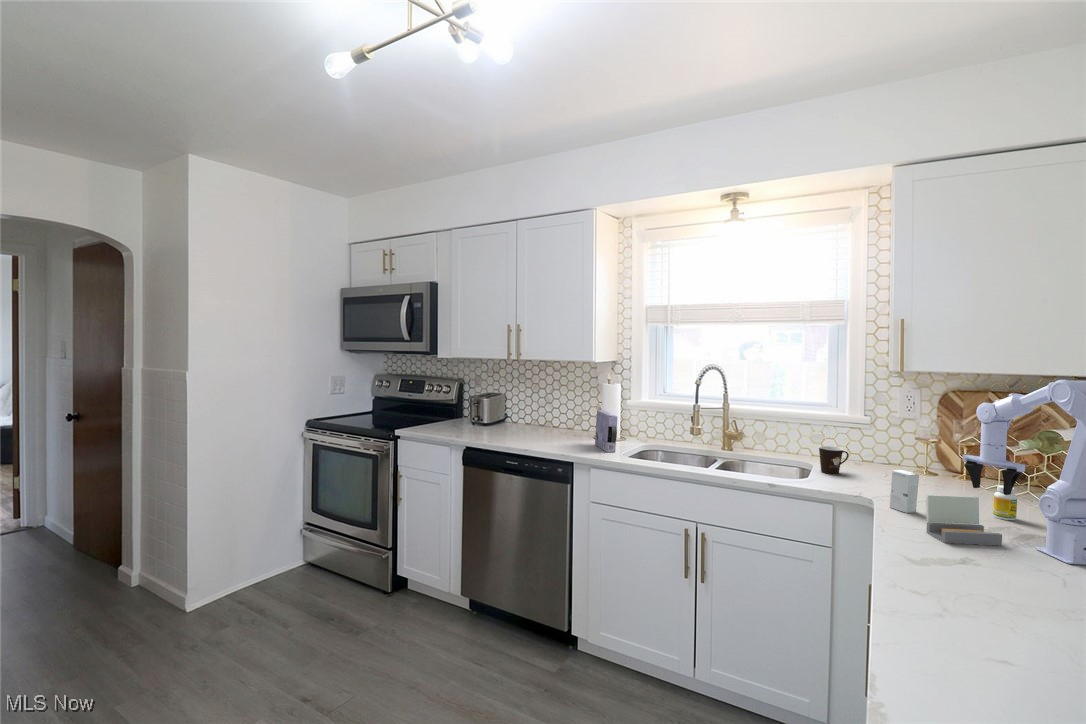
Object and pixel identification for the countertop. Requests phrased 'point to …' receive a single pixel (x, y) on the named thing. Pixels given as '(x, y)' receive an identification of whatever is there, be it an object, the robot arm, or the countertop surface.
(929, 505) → the cover
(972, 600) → the countertop surface
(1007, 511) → the supplement bottle
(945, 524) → the grey open tray
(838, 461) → the coffee mug
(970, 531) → the tall wooden block
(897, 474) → the skincare box
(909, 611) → the countertop surface
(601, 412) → the cake pan box
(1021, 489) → the countertop surface
